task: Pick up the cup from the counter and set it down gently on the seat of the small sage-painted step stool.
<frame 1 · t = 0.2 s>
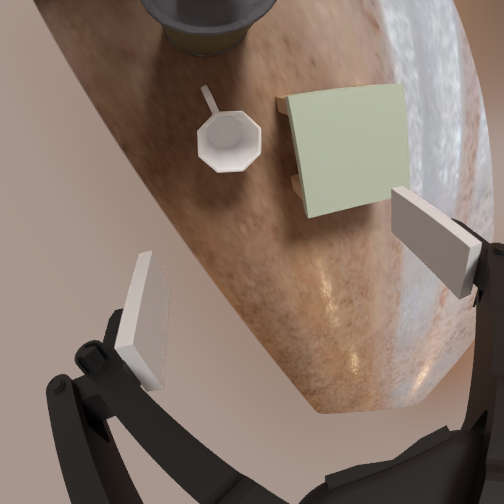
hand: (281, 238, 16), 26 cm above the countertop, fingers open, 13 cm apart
stool: (330, 135, 40), on the countertop
cup: (219, 120, 37), on the countertop
canister: (204, 18, 30), on the countertop
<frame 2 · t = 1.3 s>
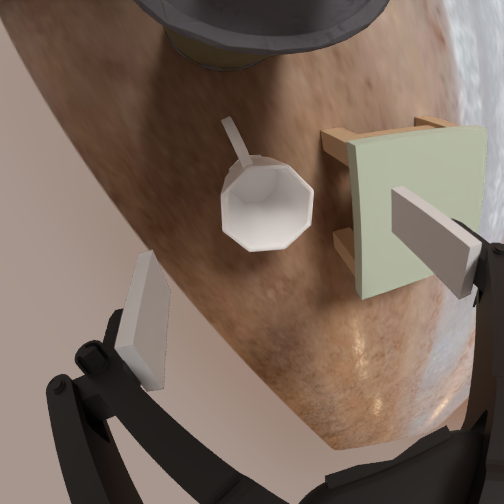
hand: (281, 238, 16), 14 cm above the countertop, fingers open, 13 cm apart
stool: (384, 180, 31), on the countertop
cup: (244, 161, 28), on the countertop
canister: (224, 15, 21), on the countertop
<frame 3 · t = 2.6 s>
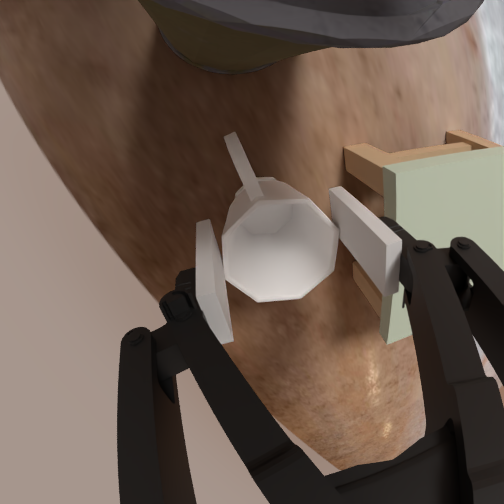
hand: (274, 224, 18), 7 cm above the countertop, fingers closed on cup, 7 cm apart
stool: (410, 203, 27), on the countertop
cup: (254, 184, 24), on the countertop, touching gripper
canister: (229, 6, 17), on the countertop
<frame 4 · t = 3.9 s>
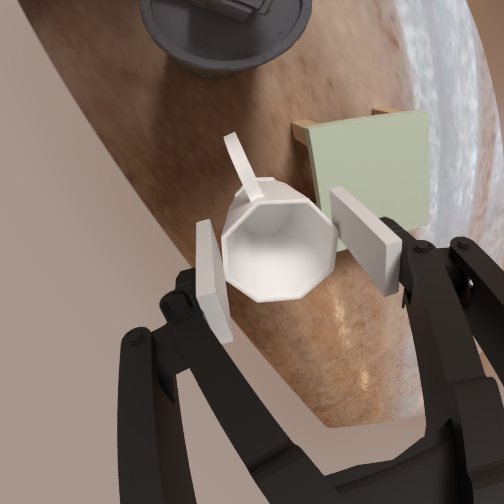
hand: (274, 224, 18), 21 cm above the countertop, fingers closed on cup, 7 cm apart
stool: (347, 161, 38), on the countertop
cup: (253, 185, 24), point 14 cm above the countertop, touching gripper
canister: (214, 35, 29), on the countertop
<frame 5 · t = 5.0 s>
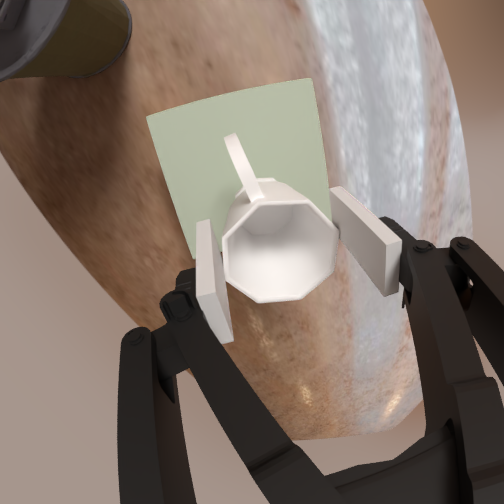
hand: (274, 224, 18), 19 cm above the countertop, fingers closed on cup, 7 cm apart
stool: (237, 151, 34), on the countertop
cup: (254, 185, 24), point 12 cm above the countertop, touching gripper
canister: (86, 33, 24), on the countertop
when the fingers open (17 cm above the countertop, at t = 5.6 s): cup drops 2 cm, resting on stool.
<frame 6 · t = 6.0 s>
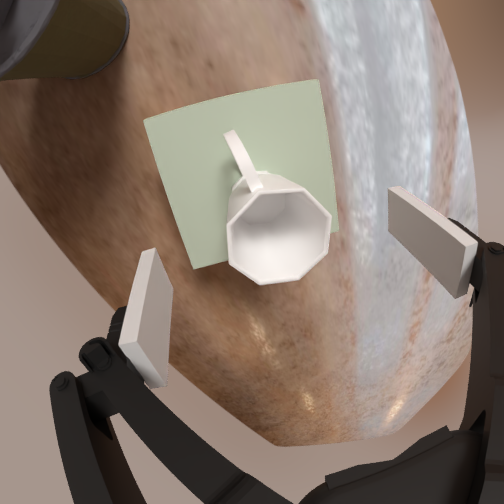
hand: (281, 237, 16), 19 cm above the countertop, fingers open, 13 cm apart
stool: (239, 155, 33), on the countertop
cup: (249, 178, 26), point 8 cm above the countertop, touching stool
canister: (81, 33, 23), on the countertop
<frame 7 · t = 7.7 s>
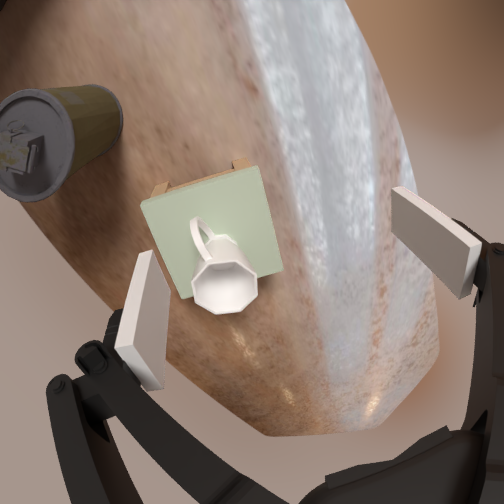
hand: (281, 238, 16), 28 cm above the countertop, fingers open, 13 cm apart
stool: (213, 212, 45), on the countertop
cup: (214, 239, 38), point 8 cm above the countertop, touching stool
canister: (86, 121, 36), on the countertop
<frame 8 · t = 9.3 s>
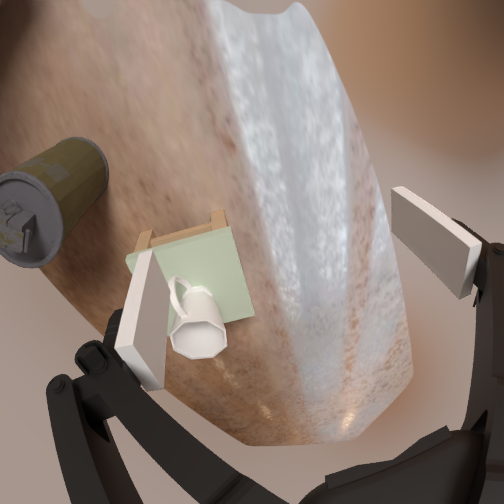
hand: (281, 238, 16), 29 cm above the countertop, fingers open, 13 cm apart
stool: (193, 257, 49), on the countertop
cup: (192, 290, 42), point 8 cm above the countertop, touching stool
canister: (75, 171, 39), on the countertop
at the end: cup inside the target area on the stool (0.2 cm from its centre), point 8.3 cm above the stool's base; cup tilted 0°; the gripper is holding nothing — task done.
